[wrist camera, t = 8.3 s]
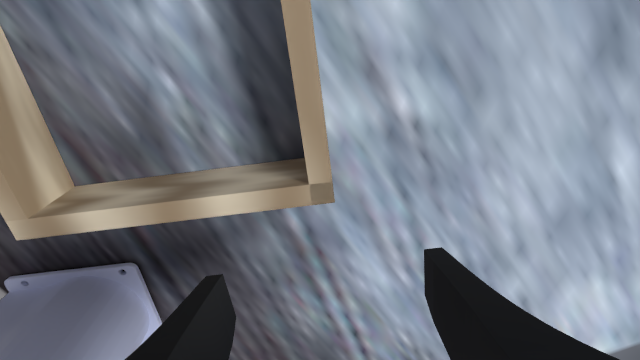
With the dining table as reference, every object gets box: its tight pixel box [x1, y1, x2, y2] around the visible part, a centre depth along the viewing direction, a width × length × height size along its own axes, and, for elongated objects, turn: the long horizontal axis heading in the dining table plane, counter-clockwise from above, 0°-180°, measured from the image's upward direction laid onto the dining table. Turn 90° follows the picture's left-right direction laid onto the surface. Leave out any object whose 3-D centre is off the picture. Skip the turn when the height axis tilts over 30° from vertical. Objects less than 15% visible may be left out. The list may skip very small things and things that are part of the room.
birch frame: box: [0, 0, 335, 240], centre depth 18 cm, size 17×12×4 cm
